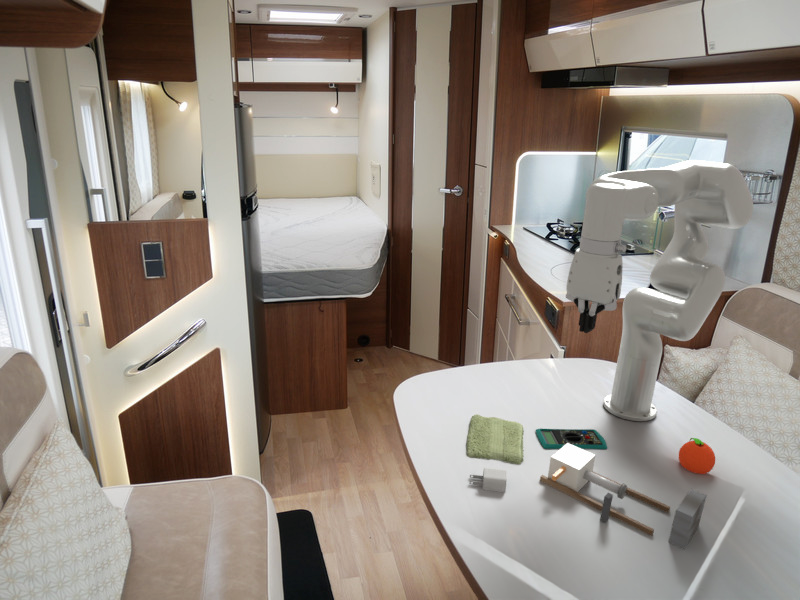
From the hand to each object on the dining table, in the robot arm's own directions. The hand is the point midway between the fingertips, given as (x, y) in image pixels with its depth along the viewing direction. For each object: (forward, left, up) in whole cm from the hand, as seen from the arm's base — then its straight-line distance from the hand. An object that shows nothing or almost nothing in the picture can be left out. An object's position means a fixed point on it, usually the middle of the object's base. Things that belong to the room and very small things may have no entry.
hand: (586, 330), depth 125 cm
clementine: (-9, +24, -27) cm, 37 cm away
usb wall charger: (+28, -3, -27) cm, 39 cm away
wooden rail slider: (+16, +16, -27) cm, 35 cm away
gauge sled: (+17, +11, -26) cm, 33 cm away
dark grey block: (+22, +18, -26) cm, 38 cm away
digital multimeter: (+1, +1, -28) cm, 28 cm away
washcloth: (+13, -11, -28) cm, 33 cm away
